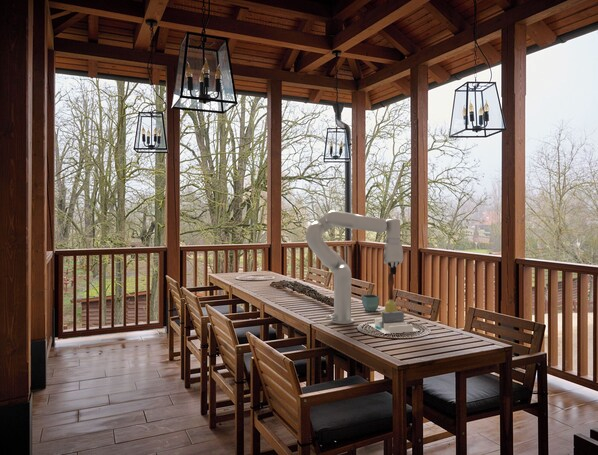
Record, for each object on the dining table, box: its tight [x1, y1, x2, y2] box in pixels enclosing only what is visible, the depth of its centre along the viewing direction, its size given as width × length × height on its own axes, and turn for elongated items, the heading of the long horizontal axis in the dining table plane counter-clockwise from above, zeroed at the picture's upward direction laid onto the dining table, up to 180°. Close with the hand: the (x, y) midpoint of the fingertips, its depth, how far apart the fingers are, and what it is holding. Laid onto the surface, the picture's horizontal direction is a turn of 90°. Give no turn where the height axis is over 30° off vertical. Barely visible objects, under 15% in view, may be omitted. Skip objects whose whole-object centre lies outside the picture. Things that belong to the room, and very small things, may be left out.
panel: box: [381, 310, 405, 328], centre depth 247 cm, size 11×3×8 cm, turn 106°
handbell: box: [380, 272, 399, 316], centre depth 279 cm, size 12×12×25 cm
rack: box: [367, 317, 420, 334], centre depth 247 cm, size 20×20×4 cm
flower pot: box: [361, 294, 381, 312], centre depth 291 cm, size 9×9×9 cm
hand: (393, 274), depth 259 cm, fingers closed
